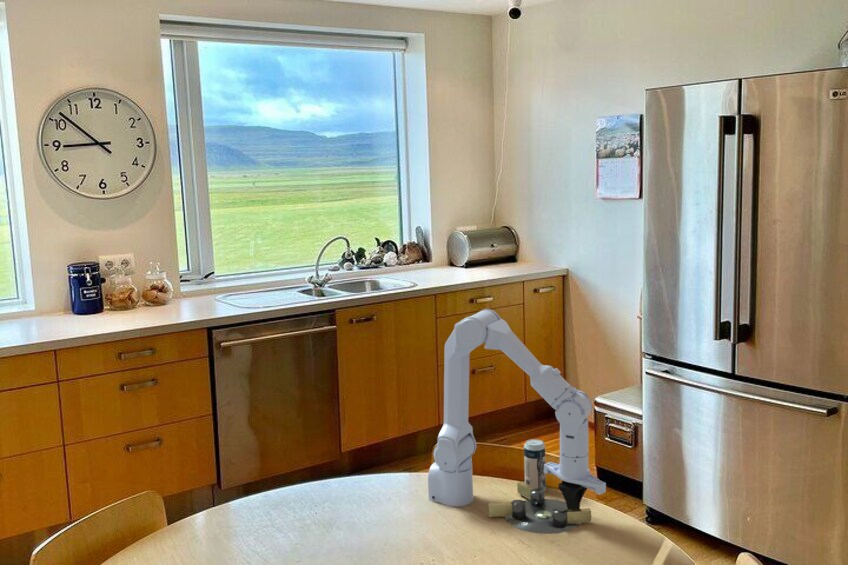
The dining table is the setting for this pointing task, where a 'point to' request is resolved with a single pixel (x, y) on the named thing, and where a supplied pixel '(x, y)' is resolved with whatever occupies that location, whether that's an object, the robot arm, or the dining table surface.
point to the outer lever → (570, 516)
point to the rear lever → (531, 494)
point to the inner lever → (508, 509)
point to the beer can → (535, 464)
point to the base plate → (541, 518)
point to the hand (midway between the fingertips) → (573, 515)
